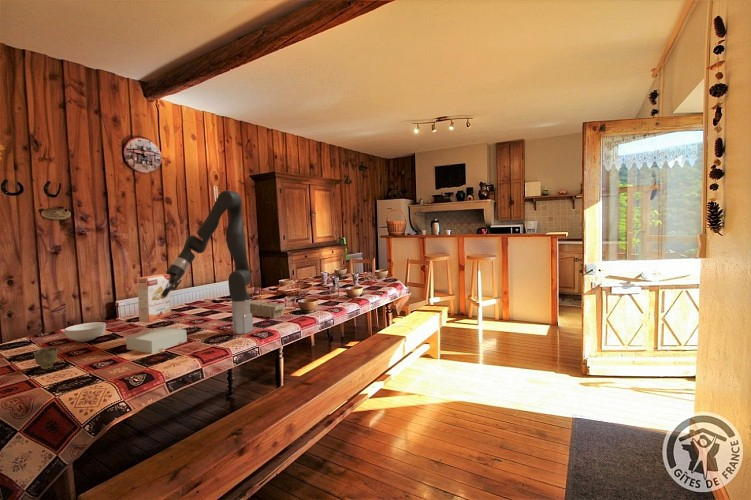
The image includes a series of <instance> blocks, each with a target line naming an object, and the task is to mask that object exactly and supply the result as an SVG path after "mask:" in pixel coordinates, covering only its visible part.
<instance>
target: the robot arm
mask: <svg viewBox="0 0 751 500" xmlns="http://www.w3.org/2000/svg"><path fill="white" fill-rule="evenodd" d="M226 211H228V224H227V227H226V231H225V238H226V247H227V249H228V251H229V253H230V254H231V257H232V259H233V262H234V268H235V270H234V271H232V272H231V273H230V274H229V275H228V280H227V281H228V290H229V296H230V299H231V313H232V314H231V316H232V331H233V334H235V335H241V334H247V333H250V332H253V331H254V323H253V315H252V313H251V311H250V301H251V298H250V297H251V296H250V294H249V293H248V292H247V286H248V285H249V284H251V280H252V274H251V270H250V266H249V262H248V254H247V247H246V246H247V245H246V237H245V231H244V223H243V222H244V221H243V201H242V197H241V195H240V193H238V192H237V191H233V190H222V191H221V192H220V193H219V194H218V196H217V197H216V200H215V202H214V203H213V206H212V208H211V210H210V212H209V213H208V215H207V217H206V218H205V220H203V222H202V224H201V225H200V227H199V228H198V230H197V231H196V233H197V235H198V236H199V237H200V238H201V239H200V238H199V237H197V236H196V235H194V234H193V235H190V236H188V237H187V238H186V240H185V242H184V245H183V248H182V250H181V252H180V254H178V256H177V258H175V260H173V262H172V263H171V264H170V265H169V267H168V268H167V270H166V271H165V274H170V279H169V281H168V283H167V288H166V289H165V290H164V291H163V293H162V296H163V297H166V296H167V295H168V293H169V292H170V291H171V292H172V291H175V290H176V289H177V287H178V286H179V285H180V284H181V283H182V277H183V276H184V274H185V273H186V272H187V271H188V269H189V267H190V266H191V264H192V262H193V261H194V260H195V257H196V255H195V253H197V254H202V253H204V252H205V251H206V249H207V247H208V246H207V245H208V243H209V240H210V239H211V236H213V234H214V232H216V231H217V228H218V226H219V223H220V220H221V217H222V215H223V214H225V212H226ZM191 250H192V251H193V252H195V253H193V252H192V251H191Z"/></svg>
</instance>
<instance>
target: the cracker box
mask: <svg viewBox="0 0 751 500" xmlns="http://www.w3.org/2000/svg"><path fill="white" fill-rule="evenodd" d="M169 279H170V274H166V273H157V274H154V275H148V276H142V277H137V294H138V295H137V296H138V321H139V322H141V323H153V322H155V321H157V320H161V319H162V318H167V317H169V316H172V299H171V298H172V295H171V294H172V293H171V292H172V291H170V292H169V293H168V295H167V296H166V297H163V296H162V293H163V291H164V290H165V289H166V288H167V283H168V281H169Z"/></svg>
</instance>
